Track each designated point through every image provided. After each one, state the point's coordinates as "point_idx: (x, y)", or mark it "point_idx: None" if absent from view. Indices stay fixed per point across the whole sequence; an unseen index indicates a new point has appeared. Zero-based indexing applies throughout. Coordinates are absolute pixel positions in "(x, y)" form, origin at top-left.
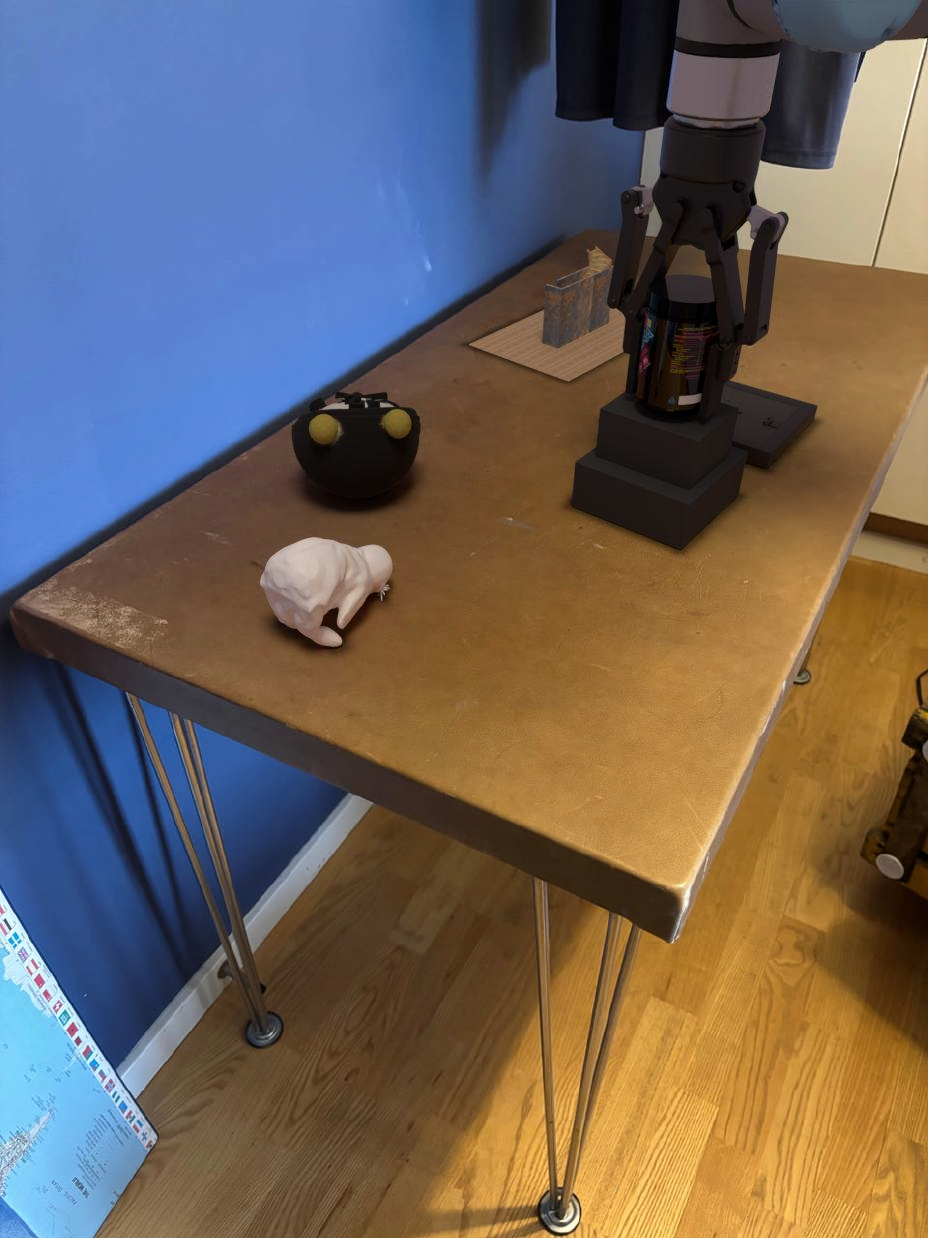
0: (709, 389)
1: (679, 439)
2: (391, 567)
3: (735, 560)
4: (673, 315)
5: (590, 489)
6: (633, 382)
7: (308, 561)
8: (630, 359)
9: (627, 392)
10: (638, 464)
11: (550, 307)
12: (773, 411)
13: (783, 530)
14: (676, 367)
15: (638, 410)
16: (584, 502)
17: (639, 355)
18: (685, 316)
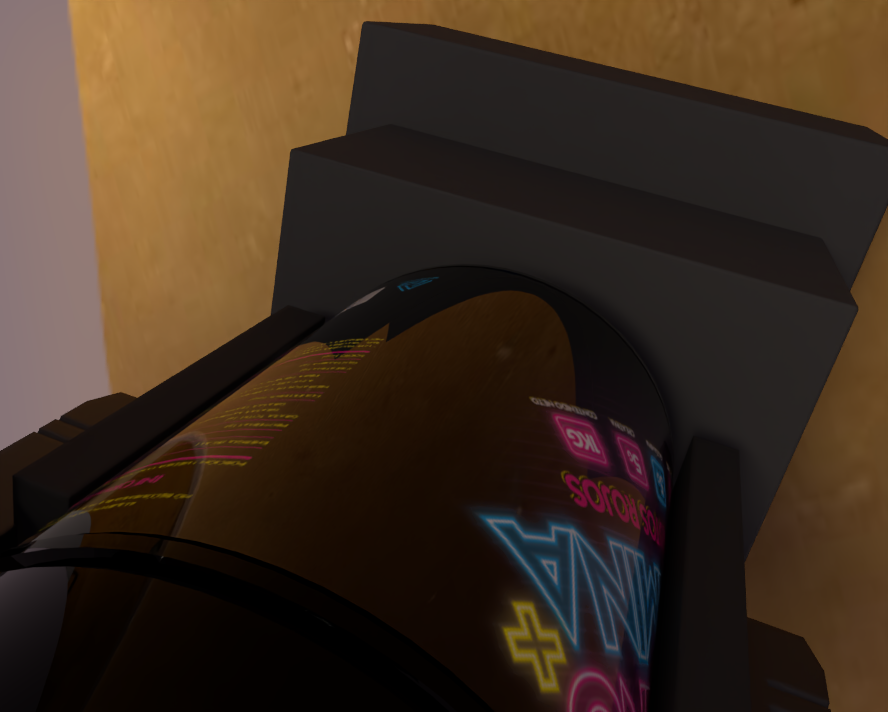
0: (212, 356)
1: (388, 171)
2: None
3: (279, 53)
4: (166, 587)
5: (801, 118)
6: (691, 469)
7: None
8: (733, 561)
9: (724, 448)
10: (605, 186)
11: None
12: None
13: (218, 263)
14: (326, 350)
15: (638, 353)
16: (816, 117)
17: (672, 589)
18: (42, 577)
